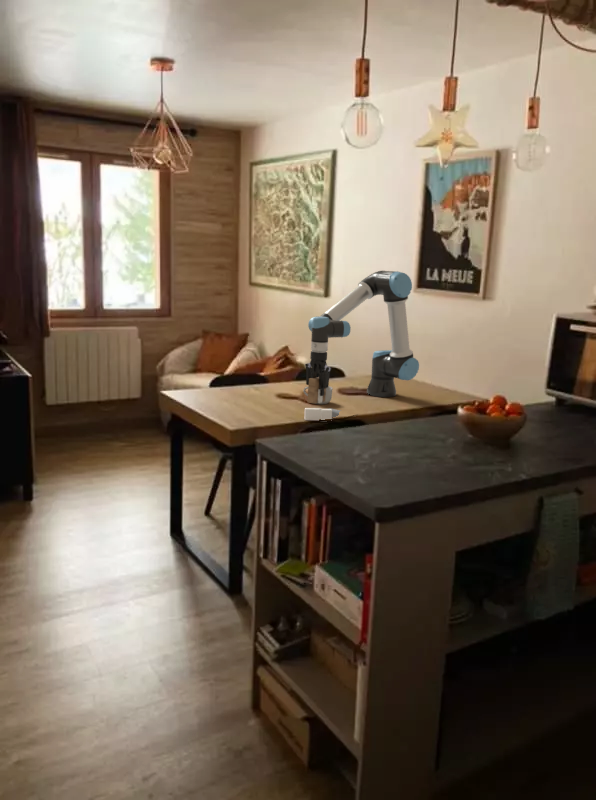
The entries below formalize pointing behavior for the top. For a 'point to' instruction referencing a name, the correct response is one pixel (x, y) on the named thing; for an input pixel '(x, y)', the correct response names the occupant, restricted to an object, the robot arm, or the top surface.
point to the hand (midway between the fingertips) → (316, 401)
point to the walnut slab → (314, 390)
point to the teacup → (327, 397)
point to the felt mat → (335, 412)
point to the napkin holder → (317, 414)
